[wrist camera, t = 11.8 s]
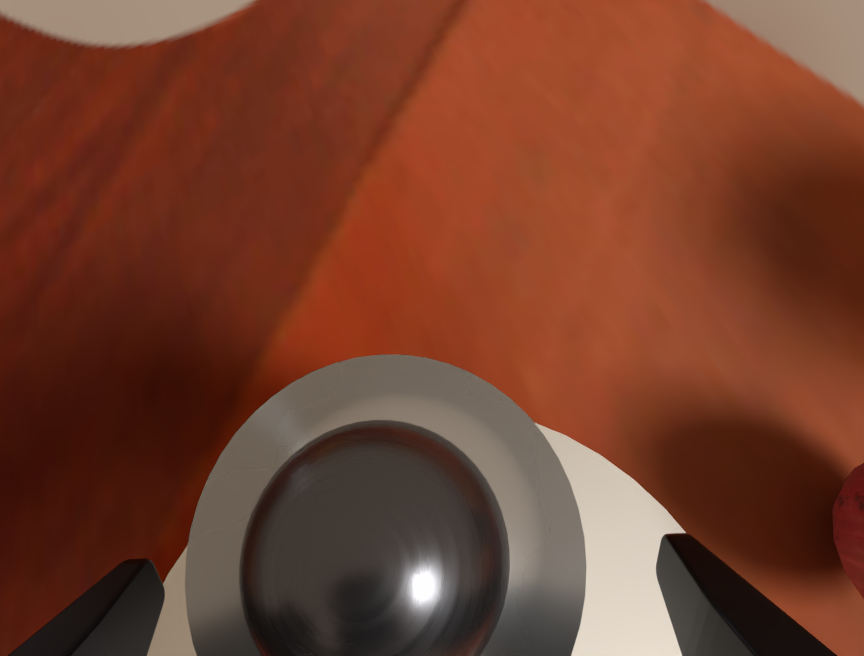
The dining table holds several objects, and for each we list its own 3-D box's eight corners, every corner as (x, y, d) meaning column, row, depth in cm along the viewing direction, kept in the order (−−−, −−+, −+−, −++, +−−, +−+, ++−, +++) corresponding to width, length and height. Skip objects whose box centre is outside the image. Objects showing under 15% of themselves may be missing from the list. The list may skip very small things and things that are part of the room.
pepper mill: (429, 632, 15) (354, 1189, 3) (320, 518, 17) (-48, 591, 4) (529, 507, 16) (767, 550, 4) (420, 408, 18) (355, 214, 5)
